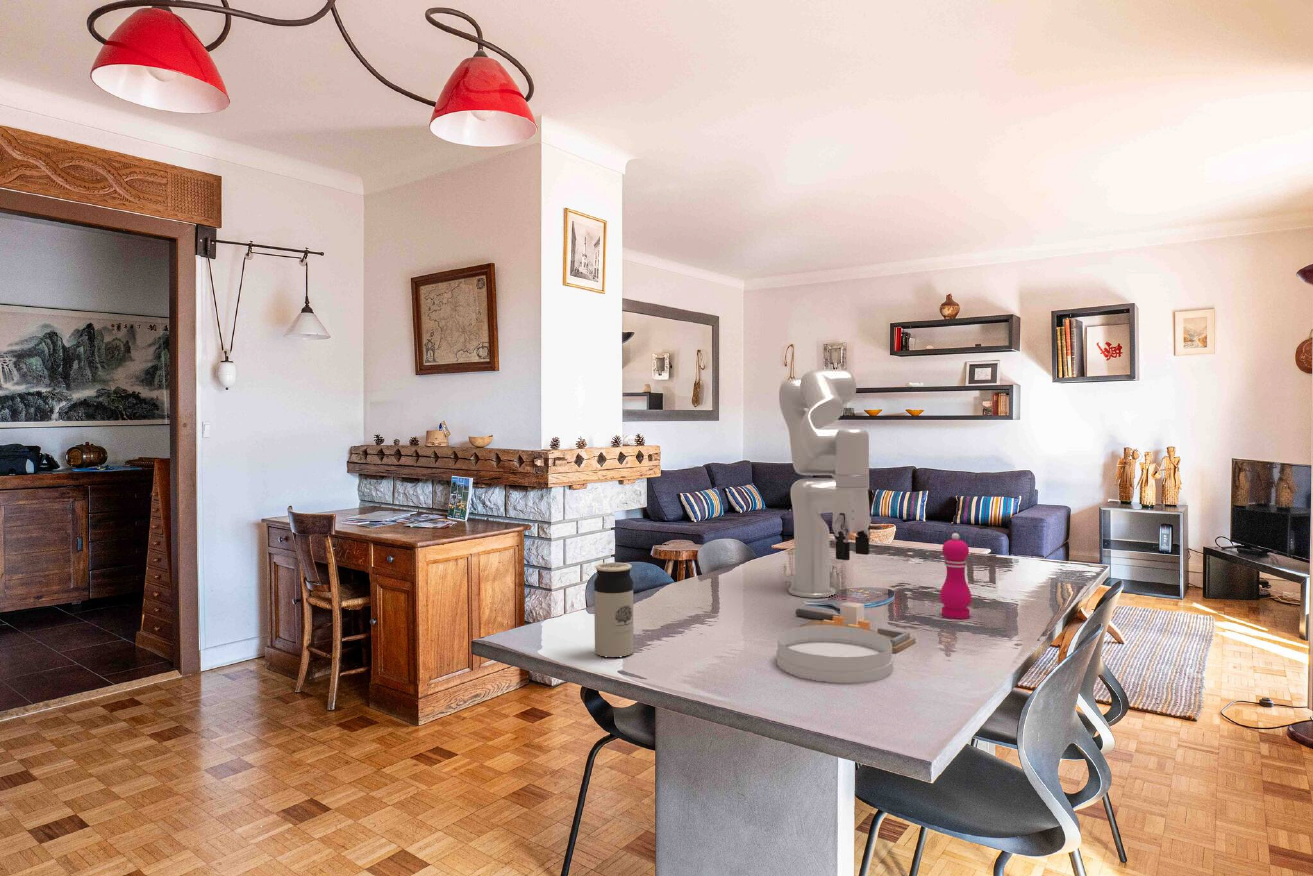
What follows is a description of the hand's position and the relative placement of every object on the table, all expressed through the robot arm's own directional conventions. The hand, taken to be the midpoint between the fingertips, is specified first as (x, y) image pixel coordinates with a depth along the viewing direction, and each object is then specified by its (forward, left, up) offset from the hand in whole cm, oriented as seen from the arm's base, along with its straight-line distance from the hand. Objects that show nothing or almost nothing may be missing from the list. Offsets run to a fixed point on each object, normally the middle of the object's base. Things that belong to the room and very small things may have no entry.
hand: (852, 556), depth 176 cm
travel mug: (-28, -50, -16) cm, 60 cm away
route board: (+4, -9, -16) cm, 19 cm away
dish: (+10, -28, -17) cm, 34 cm away
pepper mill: (+15, +24, -16) cm, 33 cm away
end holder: (+12, -9, -15) cm, 21 cm away
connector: (-7, 0, -16) cm, 17 cm away
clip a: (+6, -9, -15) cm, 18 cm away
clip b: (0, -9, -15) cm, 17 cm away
